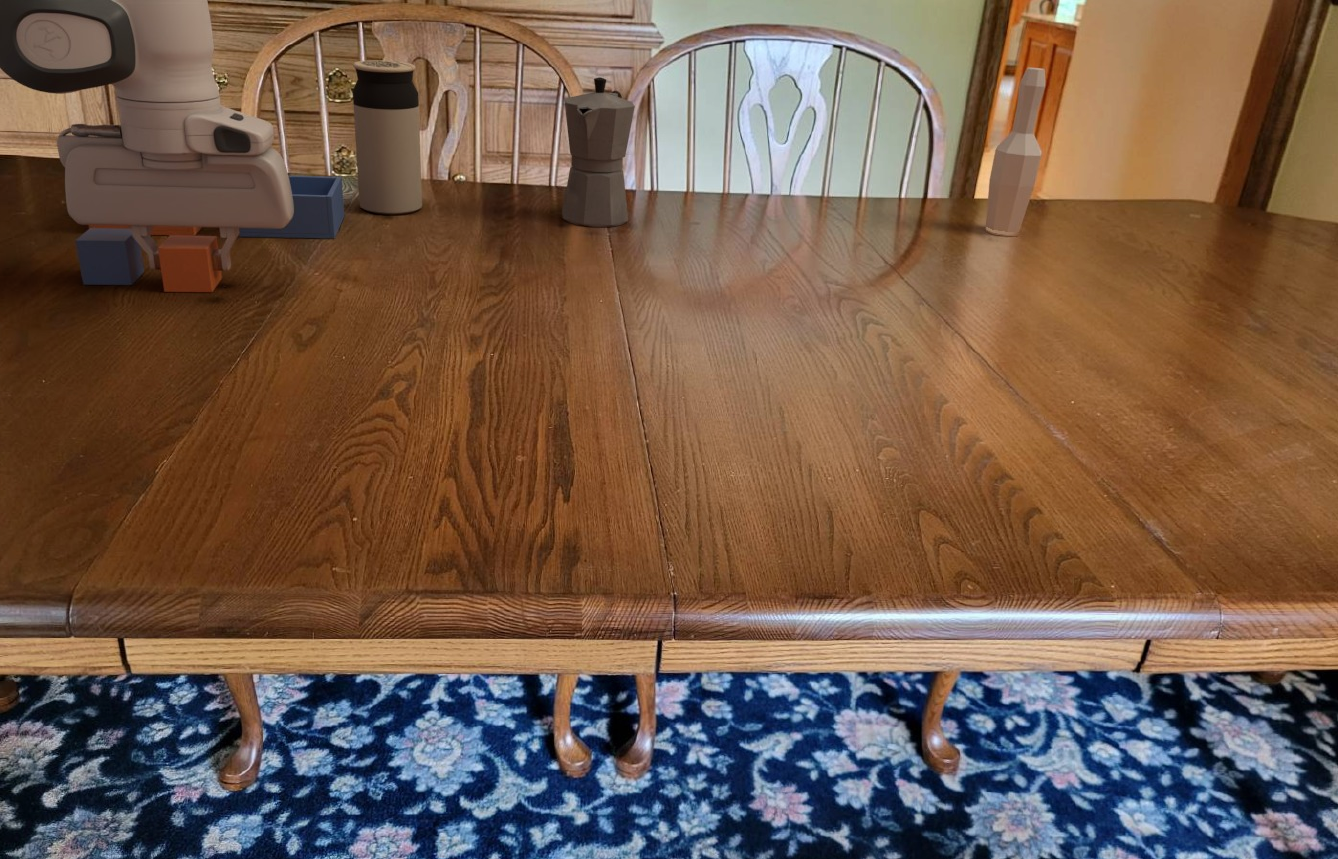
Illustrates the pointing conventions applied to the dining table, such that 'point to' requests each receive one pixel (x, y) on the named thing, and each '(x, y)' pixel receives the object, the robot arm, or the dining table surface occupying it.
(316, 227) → the blue bin
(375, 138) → the travel mug
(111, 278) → the blue block
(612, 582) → the dining table surface
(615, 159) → the coffeepot
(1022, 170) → the low poly bottle
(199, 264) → the orange block
